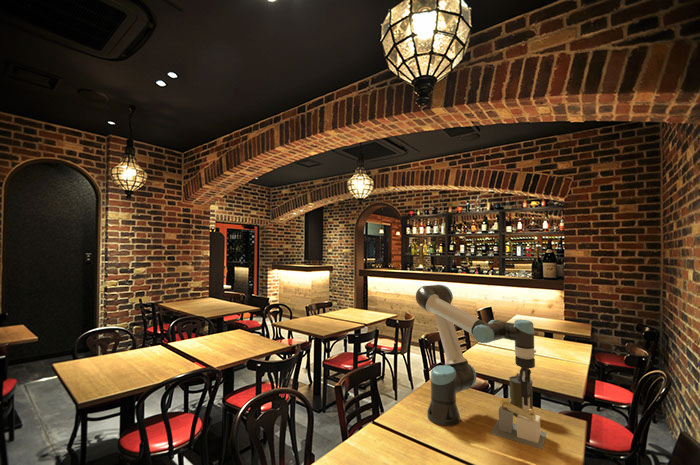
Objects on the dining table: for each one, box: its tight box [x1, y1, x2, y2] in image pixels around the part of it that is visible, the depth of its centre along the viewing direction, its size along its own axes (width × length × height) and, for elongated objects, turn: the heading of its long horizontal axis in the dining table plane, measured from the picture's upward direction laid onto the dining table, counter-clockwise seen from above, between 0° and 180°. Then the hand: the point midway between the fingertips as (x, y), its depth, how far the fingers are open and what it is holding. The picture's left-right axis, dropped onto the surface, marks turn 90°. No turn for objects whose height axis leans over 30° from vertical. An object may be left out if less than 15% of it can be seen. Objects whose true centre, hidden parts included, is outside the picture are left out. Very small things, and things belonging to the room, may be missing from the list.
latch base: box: [490, 404, 548, 450], centre depth 146 cm, size 20×16×10 cm
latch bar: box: [499, 397, 537, 421], centre depth 144 cm, size 15×6×4 cm, turn 30°
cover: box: [516, 414, 541, 443], centre depth 144 cm, size 8×8×8 cm
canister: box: [508, 373, 534, 418], centre depth 164 cm, size 11×10×20 cm
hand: (526, 412), depth 143 cm, fingers closed
